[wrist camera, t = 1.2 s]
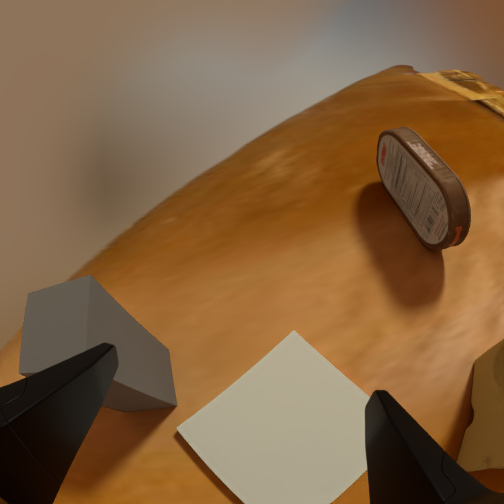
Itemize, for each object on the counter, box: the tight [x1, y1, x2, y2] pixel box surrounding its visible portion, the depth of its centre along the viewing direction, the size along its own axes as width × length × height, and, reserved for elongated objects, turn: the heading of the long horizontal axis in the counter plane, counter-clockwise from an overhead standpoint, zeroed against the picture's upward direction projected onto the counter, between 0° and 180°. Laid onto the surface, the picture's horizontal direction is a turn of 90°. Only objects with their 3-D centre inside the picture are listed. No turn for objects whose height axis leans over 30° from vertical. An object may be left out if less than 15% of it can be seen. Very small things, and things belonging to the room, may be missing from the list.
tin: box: [377, 127, 471, 250], centre depth 26 cm, size 15×3×8 cm, turn 11°
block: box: [19, 275, 177, 412], centre depth 17 cm, size 5×5×12 cm
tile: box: [176, 330, 370, 504], centre depth 18 cm, size 12×12×1 cm
